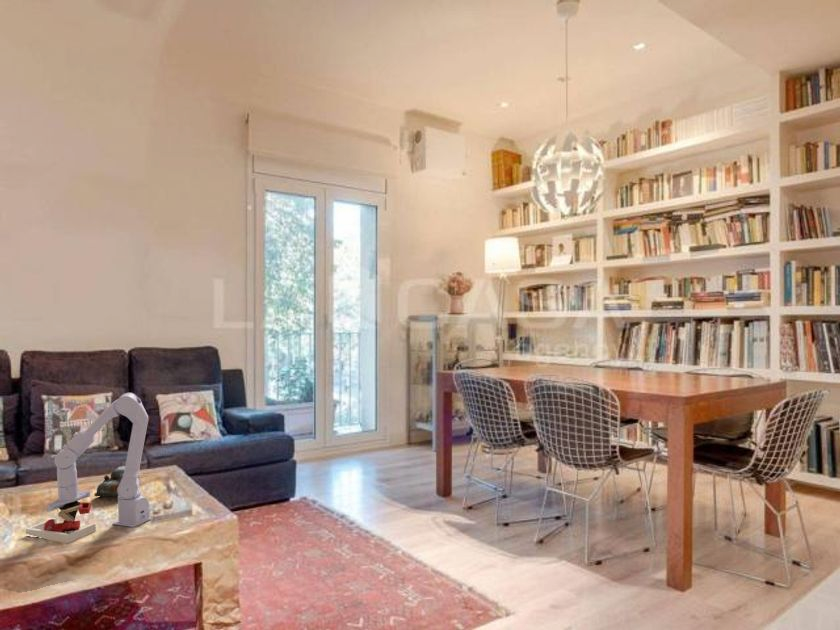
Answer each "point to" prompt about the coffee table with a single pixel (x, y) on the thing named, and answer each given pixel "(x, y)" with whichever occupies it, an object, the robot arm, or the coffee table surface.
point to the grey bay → (57, 536)
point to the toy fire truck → (67, 519)
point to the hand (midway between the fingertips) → (70, 525)
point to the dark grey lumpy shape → (111, 483)
